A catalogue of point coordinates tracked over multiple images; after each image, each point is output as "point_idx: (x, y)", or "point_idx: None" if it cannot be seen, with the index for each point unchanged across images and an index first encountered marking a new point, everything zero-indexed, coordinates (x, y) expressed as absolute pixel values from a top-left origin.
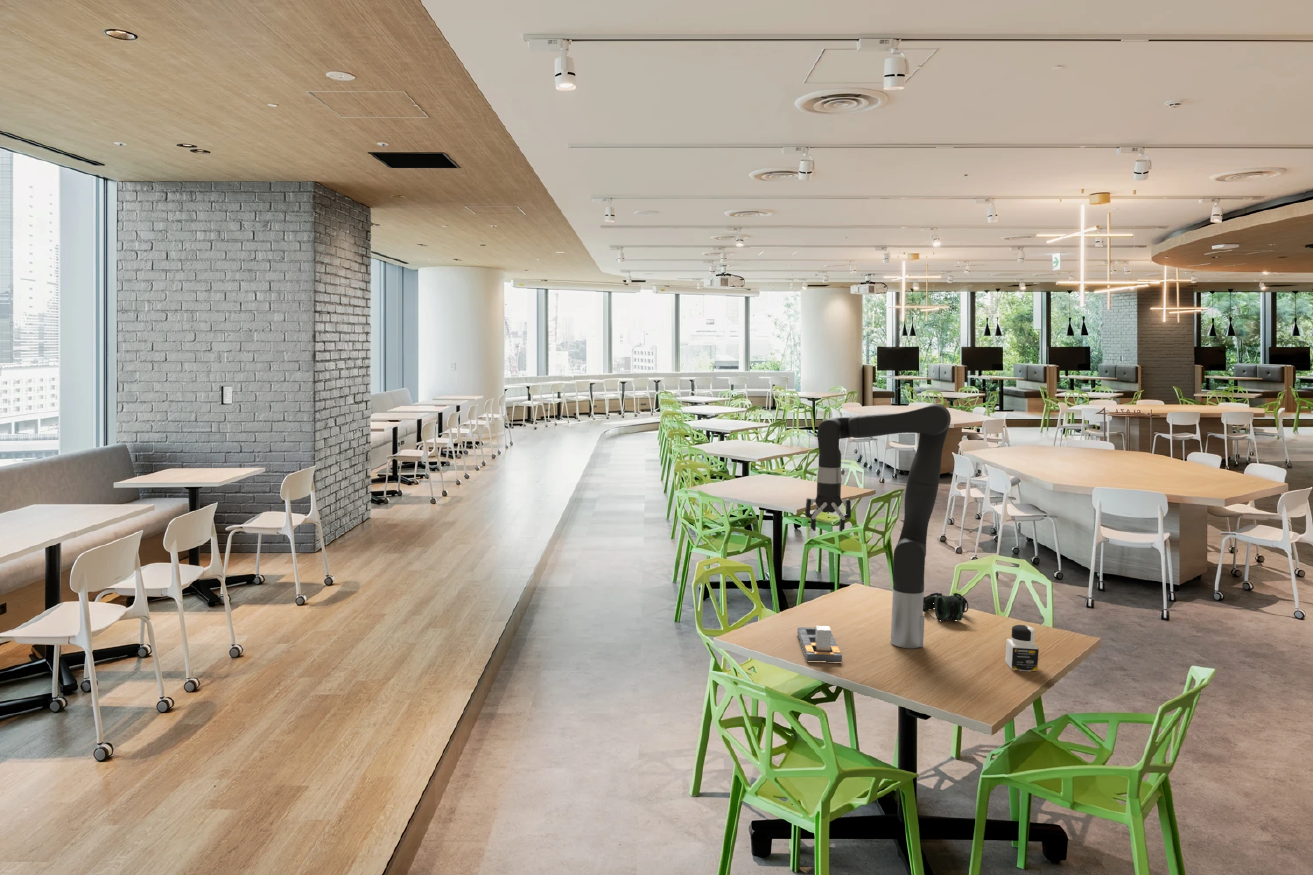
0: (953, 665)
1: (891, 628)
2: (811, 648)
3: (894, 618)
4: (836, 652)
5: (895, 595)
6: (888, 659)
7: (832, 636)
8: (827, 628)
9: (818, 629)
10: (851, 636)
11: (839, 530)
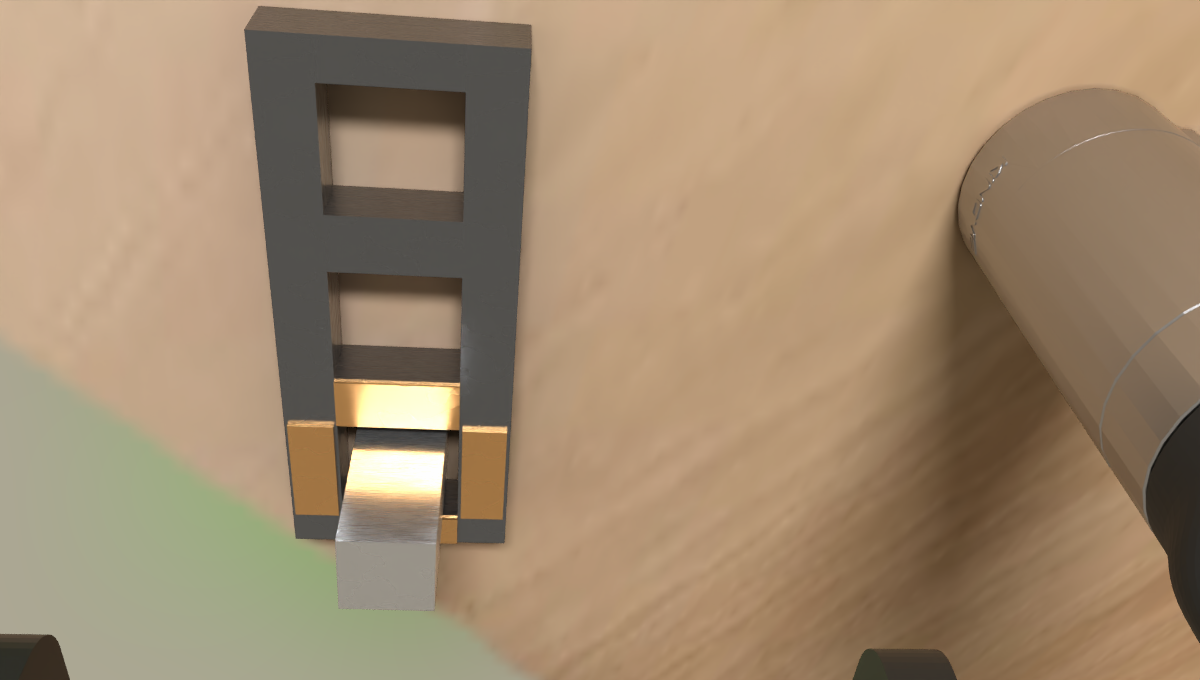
0: (1122, 497)
1: (1001, 236)
2: (327, 474)
3: (1032, 332)
4: (478, 517)
5: (1120, 466)
6: (802, 441)
7: (515, 247)
8: (414, 581)
9: (347, 600)
10: (719, 35)
11: (858, 674)
